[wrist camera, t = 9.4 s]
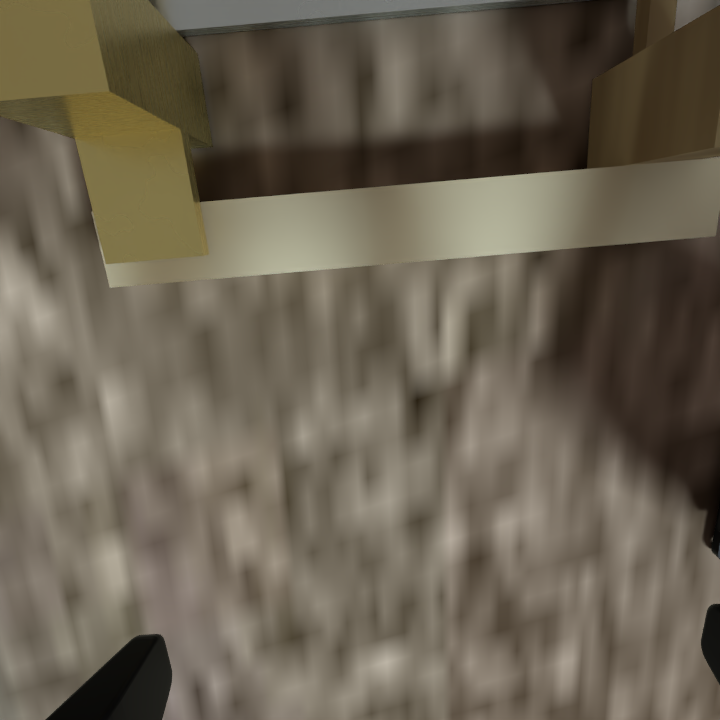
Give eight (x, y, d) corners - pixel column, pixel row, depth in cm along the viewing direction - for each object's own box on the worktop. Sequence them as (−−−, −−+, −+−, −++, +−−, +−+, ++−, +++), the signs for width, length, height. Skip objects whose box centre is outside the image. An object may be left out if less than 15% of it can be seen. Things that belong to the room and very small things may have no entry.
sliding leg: (168, -120, 13) (-10, -456, 7) (229, 249, 17) (148, 269, 10) (70, -110, 13) (-208, -437, 7) (149, 256, 17) (14, 280, 10)
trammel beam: (707, -113, 14) (956, -346, 8) (666, 234, 17) (827, 240, 11) (66, -56, 14) (-129, -247, 8) (142, 278, 17) (37, 307, 11)
